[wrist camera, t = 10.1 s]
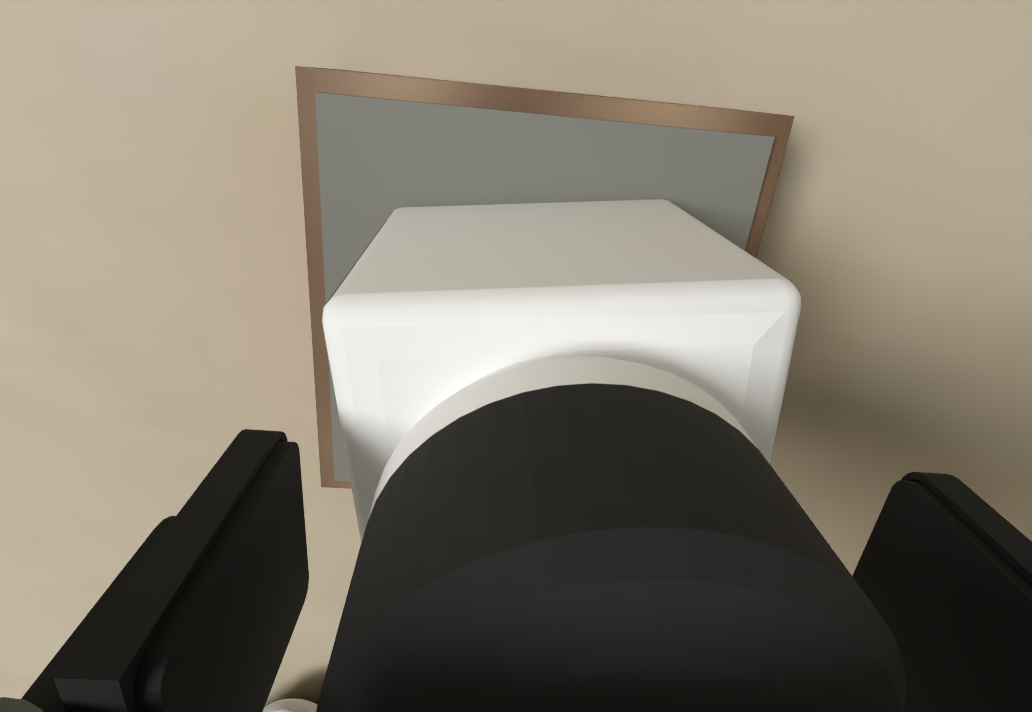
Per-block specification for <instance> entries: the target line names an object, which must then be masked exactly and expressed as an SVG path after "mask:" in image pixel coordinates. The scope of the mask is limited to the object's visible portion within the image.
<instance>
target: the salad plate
mask: <svg viewBox="0 0 1032 712" xmlns="http://www.w3.org/2000/svg"><path fill="white" fill-rule="evenodd" d="M316 710H317V704H315V703H313V702H310V701H307V700H303V699H282V700H277V701H275V702H272V703H270V704H268V705H267V706H265V707H264V709H263V712H316Z"/></svg>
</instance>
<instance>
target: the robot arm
mask: <svg viewBox="0 0 1032 712" xmlns="http://www.w3.org/2000/svg"><path fill="white" fill-rule="evenodd" d="M852 577H853V578H854V579H855V581H856V582H857V583H858V585H859V586H860V588H861V589H862V590H863V592H864V593H865V594H866V596H867V597H868V598H869V600H870V601H871V602H872V604H873V605H874V607H875V608H876V609H877V611H878V612H879V614H880V615H881V617H882V618H883V619H884V621H885V622H886V624H887V625H888V627H889V628H890V630H891V631H892V633H893V635H894V638H895V640H896V643H897V645H898V648H899V650H900V653H901V655H902V658H903V663H904V670H905V677H906V684H907V686H906V697H905V709H904V712H1032V542H1031V541H1030V540H1029V539H1028V538H1027V537H1026V536H1024V535H1023V534H1022V533H1021V532H1020V531H1019V530H1017V529H1016V528H1015V527H1014V526H1013V525H1012V524H1010V523H1009V522H1008V521H1007V520H1006V519H1005V518H1003V517H1002V516H1001V515H1000V514H999V513H998V512H996V511H995V510H994V509H993V508H992V507H991V506H989V505H988V504H987V503H986V502H985V501H984V500H982V499H981V498H980V497H979V496H978V495H977V494H975V493H974V492H973V491H972V490H971V489H970V488H968V487H967V486H966V485H965V484H964V483H963V482H961V481H960V480H959V479H958V478H956V477H954V476H953V475H948V474H938V473H922V472H912V473H908V474H907V475H905V476H904V477H903V478H902V480H901V481H898V482H896V483H895V484H894V485H893V487H892V488H891V490H890V493H889V495H888V497H887V499H886V502H885V504H884V506H883V508H882V511H881V513H880V515H879V517H878V520H877V522H876V524H875V526H874V529H873V531H872V533H871V535H870V538H869V540H868V542H867V544H866V547H865V549H864V551H863V553H862V556H861V558H860V560H859V562H858V565H857V567H856V569H855V571H854V574H853V576H852ZM308 582H309V571H308V558H307V545H306V532H305V519H304V506H303V493H302V480H301V467H300V454H299V447H298V444H297V443H296V442H287V437H286V435H285V433H284V432H280V431H265V430H249V429H245V430H242V431H241V432H240V433H239V434H238V435H237V436H236V438H235V439H234V440H233V442H232V443H231V444H230V446H229V447H228V448H227V450H226V451H225V452H224V454H223V455H222V456H221V458H220V459H219V460H218V462H217V463H216V464H215V465H214V467H213V468H212V469H211V471H210V472H209V473H208V475H207V476H206V477H205V479H204V480H203V481H202V483H201V484H200V485H199V487H198V488H197V489H196V491H195V492H194V493H193V495H192V496H191V497H190V499H189V500H188V501H187V503H186V504H185V505H184V506H183V508H182V509H181V510H180V512H179V513H178V514H177V516H170V517H168V518H166V519H164V520H163V521H162V522H161V523H160V524H159V525H158V526H157V527H156V528H155V529H154V530H153V531H152V533H151V534H150V535H149V536H148V538H147V539H146V540H145V542H144V543H143V544H142V545H141V547H140V548H139V549H138V550H137V552H136V553H135V554H134V556H133V557H132V558H131V559H130V561H129V562H128V563H127V565H126V566H125V567H124V568H123V570H122V571H121V572H120V573H119V575H118V576H117V577H116V579H115V580H114V581H113V582H112V584H111V585H110V586H109V588H108V589H107V590H106V591H105V593H104V594H103V595H102V596H101V598H100V599H99V600H98V602H97V603H96V604H95V605H94V607H93V608H92V609H91V610H90V612H89V613H88V614H87V616H86V617H85V618H84V619H83V621H82V622H81V623H80V625H79V626H78V627H77V628H76V630H75V631H74V632H73V633H72V635H71V636H70V637H69V639H68V640H67V641H66V642H65V644H64V645H63V646H62V648H61V649H60V650H59V651H58V653H57V654H56V655H55V656H54V658H53V659H52V660H51V662H50V663H49V664H48V665H47V667H46V668H45V669H44V670H43V672H42V673H41V674H40V676H39V677H38V678H37V679H36V681H35V682H34V683H33V685H32V686H31V687H30V688H29V690H28V691H27V692H26V693H25V695H24V696H23V697H22V699H14V698H6V697H2V698H0V712H263V709H264V706H265V704H266V701H267V699H268V696H269V693H270V691H271V688H272V685H273V683H274V680H275V678H276V675H277V672H278V670H279V667H280V664H281V662H282V659H283V657H284V654H285V651H286V649H287V646H288V644H289V641H290V638H291V636H292V633H293V630H294V628H295V625H296V623H297V620H298V617H299V615H300V612H301V609H302V607H303V604H304V601H305V598H306V594H307V590H308Z"/></svg>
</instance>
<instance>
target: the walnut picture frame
mask: <svg viewBox="0 0 1032 712" xmlns="http://www.w3.org/2000/svg"><path fill="white" fill-rule="evenodd" d="M295 70H296V86H297V102H298V118H299V134H300V151H301V167H302V183H303V199H304V215H305V231H306V248H307V264H308V280H309V296H310V312H311V328H312V344H313V361H314V377H315V393H316V409H317V425H318V441H319V458H320V474H321V487H331V488H352V486H351V481H350V475H349V470H348V464H347V458H346V453H345V447H344V441H343V436H342V430H341V425H340V419H339V413H338V408H337V402H336V396H335V391H334V385H333V380H332V374H331V368H330V363H329V357H328V352H327V346H326V340H325V335H324V329H323V323H322V318H323V309H324V306H325V305H326V303H327V302H328V300H329V299H330V298H331V296H332V295H333V293H334V292H335V291H336V289H337V288H338V286H339V285H340V284H341V282H342V281H343V280H344V278H345V277H346V275H347V274H348V273H349V271H350V270H351V268H352V267H353V266H354V264H355V263H356V262H357V260H358V259H359V257H360V256H361V255H362V253H363V252H364V250H365V249H366V248H367V246H368V245H369V244H370V242H371V241H372V239H373V238H374V237H375V235H376V234H377V232H378V231H379V230H380V228H381V227H382V225H383V224H384V223H385V221H386V220H387V219H388V217H389V216H390V215H391V213H392V212H393V211H394V210H395V209H398V208H402V207H429V206H461V205H492V204H524V203H555V202H587V201H619V200H650V199H663V200H667V201H670V202H671V203H673V204H674V205H676V206H677V207H679V208H680V209H682V210H683V211H685V212H687V213H688V214H690V215H691V216H693V217H694V218H696V219H697V220H699V221H700V222H702V223H703V224H705V225H706V226H708V227H709V228H711V229H712V230H714V231H715V232H717V233H718V234H720V235H721V236H723V237H724V238H726V239H727V240H729V241H730V242H732V243H733V244H735V245H736V246H738V247H739V248H741V249H743V250H744V251H746V252H747V253H749V254H750V255H752V256H753V257H755V258H756V255H757V251H758V248H759V244H760V240H761V237H762V233H763V229H764V226H765V222H766V218H767V215H768V211H769V207H770V204H771V200H772V196H773V193H774V189H775V185H776V182H777V178H778V174H779V171H780V167H781V163H782V160H783V156H784V152H785V149H786V145H787V141H788V138H789V134H790V130H791V126H792V123H793V119H794V116H788V115H779V114H770V113H762V112H753V111H744V110H736V109H726V108H716V107H706V106H696V105H686V104H676V103H666V102H656V101H646V100H636V99H626V98H616V97H606V96H596V95H586V94H576V93H566V92H556V91H546V90H537V89H527V88H517V87H507V86H497V85H487V84H477V83H467V82H457V81H447V80H437V79H427V78H417V77H407V76H397V75H387V74H377V73H367V72H357V71H347V70H337V69H326V68H313V67H299V66H295Z"/></svg>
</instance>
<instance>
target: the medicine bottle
mask: <svg viewBox="0 0 1032 712" xmlns="http://www.w3.org/2000/svg"><path fill="white" fill-rule="evenodd" d="M801 306H802V305H801V295H800V293H799V291H798V289H797V288H796V287H795V286H794V285H793V284H792V282H791V281H789V280H788V279H786V278H785V277H783V276H782V275H780V274H779V273H777V272H776V271H774V270H773V269H771V268H770V267H768V266H767V265H765V264H764V263H762V262H761V261H759V260H758V259H756V258H755V257H753V256H752V255H750V254H749V253H747V252H746V251H744V250H743V249H741V248H739V247H738V246H736V245H735V244H733V243H732V242H730V241H729V240H727V239H726V238H724V237H723V236H721V235H720V234H718V233H717V232H715V231H714V230H712V229H711V228H709V227H708V226H706V225H705V224H703V223H702V222H700V221H699V220H697V219H696V218H694V217H693V216H691V215H690V214H688V213H687V212H685V211H683V210H682V209H680V208H679V207H677V206H676V205H674V204H673V203H671V202H670V201H667V200H663V199H650V200H619V201H587V202H555V203H524V204H492V205H461V206H429V207H402V208H398V209H395V210H394V211H393V212H392V213H391V215H390V216H389V217H388V219H387V220H386V221H385V223H384V224H383V225H382V227H381V228H380V230H379V231H378V232H377V234H376V235H375V237H374V238H373V239H372V241H371V242H370V244H369V245H368V246H367V248H366V249H365V250H364V252H363V253H362V255H361V256H360V257H359V259H358V260H357V262H356V263H355V264H354V266H353V267H352V268H351V270H350V271H349V273H348V274H347V275H346V277H345V278H344V280H343V281H342V282H341V284H340V285H339V286H338V288H337V289H336V291H335V292H334V293H333V295H332V296H331V298H330V299H329V300H328V302H327V303H326V305H325V306H324V309H323V318H322V323H323V329H324V335H325V340H326V346H327V352H328V357H329V363H330V368H331V374H332V380H333V385H334V391H335V396H336V402H337V408H338V413H339V419H340V425H341V430H342V436H343V441H344V447H345V453H346V458H347V464H348V470H349V475H350V481H351V486H352V492H353V498H354V503H355V509H356V515H357V520H358V526H359V531H360V537H361V547H360V550H359V554H358V558H357V561H356V565H355V569H354V572H353V576H352V580H351V583H350V587H349V591H348V594H347V598H346V602H345V605H344V609H343V613H342V617H341V620H340V624H339V628H338V631H337V635H336V639H335V642H334V646H333V650H332V653H331V657H330V661H329V664H328V668H327V672H326V675H325V679H324V683H323V687H322V690H321V694H320V698H319V701H318V705H317V710H316V712H904V709H905V697H906V686H907V684H906V677H905V670H904V663H903V658H902V655H901V653H900V650H899V648H898V645H897V643H896V640H895V638H894V635H893V633H892V631H891V630H890V628H889V627H888V625H887V624H886V622H885V621H884V619H883V618H882V617H881V615H880V614H879V612H878V611H877V609H876V608H875V607H874V605H873V604H872V602H871V601H870V600H869V598H868V597H867V596H866V594H865V593H864V592H863V590H862V589H861V588H860V586H859V585H858V583H857V582H856V581H855V579H854V578H853V577H852V575H851V574H850V573H849V571H848V570H847V569H846V567H845V566H844V564H843V563H842V562H841V560H840V559H839V558H838V556H837V555H836V554H835V552H834V551H833V550H832V548H831V547H830V545H829V544H828V543H827V541H826V540H825V539H824V537H823V536H822V535H821V533H820V532H819V531H818V529H817V528H816V526H815V525H814V524H813V522H812V521H811V520H810V518H809V517H808V516H807V514H806V513H805V512H804V510H803V509H802V507H801V506H800V505H799V503H798V502H797V501H796V499H795V498H794V497H793V495H792V494H791V493H790V491H789V490H788V488H787V487H786V486H785V484H784V483H783V482H782V480H781V479H780V478H779V476H778V475H777V474H776V472H775V471H774V469H773V468H772V467H771V465H770V461H771V456H772V451H773V446H774V441H775V436H776V431H777V426H778V421H779V416H780V411H781V406H782V401H783V396H784V391H785V386H786V381H787V376H788V371H789V366H790V361H791V356H792V351H793V346H794V341H795V336H796V331H797V326H798V321H799V316H800V311H801Z"/></svg>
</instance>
